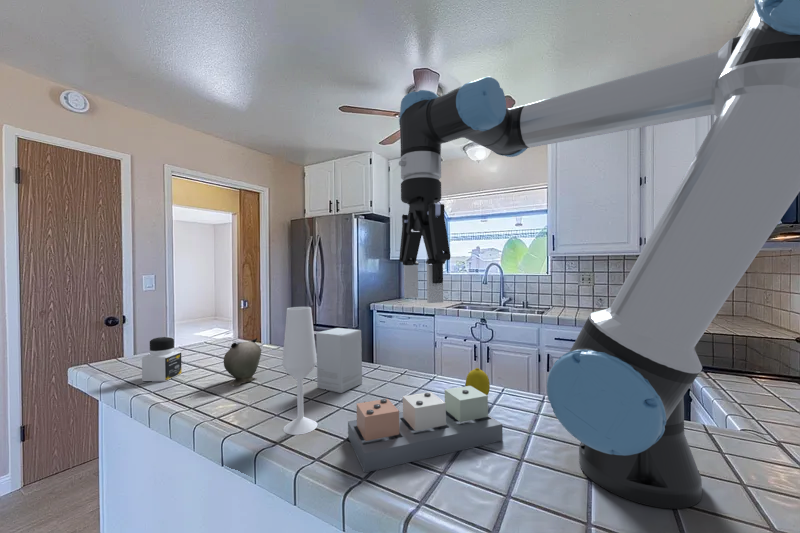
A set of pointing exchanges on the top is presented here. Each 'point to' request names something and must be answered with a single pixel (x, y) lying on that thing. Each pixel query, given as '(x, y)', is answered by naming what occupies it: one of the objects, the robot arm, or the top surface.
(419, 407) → the tile two
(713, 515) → the top surface
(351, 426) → the console
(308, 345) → the champagne flute
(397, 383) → the top surface
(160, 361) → the medicine bottle
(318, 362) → the supplement box
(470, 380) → the lemon
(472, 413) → the tile one
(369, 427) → the tile three
